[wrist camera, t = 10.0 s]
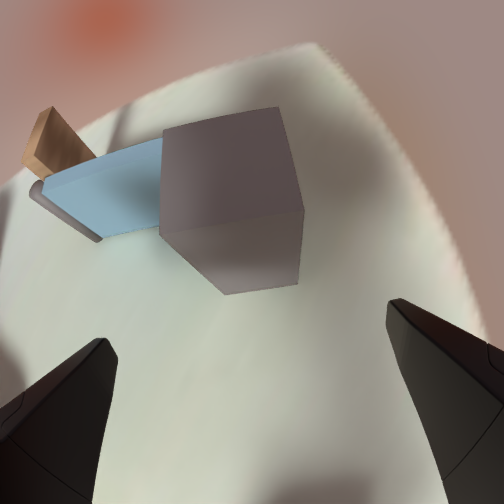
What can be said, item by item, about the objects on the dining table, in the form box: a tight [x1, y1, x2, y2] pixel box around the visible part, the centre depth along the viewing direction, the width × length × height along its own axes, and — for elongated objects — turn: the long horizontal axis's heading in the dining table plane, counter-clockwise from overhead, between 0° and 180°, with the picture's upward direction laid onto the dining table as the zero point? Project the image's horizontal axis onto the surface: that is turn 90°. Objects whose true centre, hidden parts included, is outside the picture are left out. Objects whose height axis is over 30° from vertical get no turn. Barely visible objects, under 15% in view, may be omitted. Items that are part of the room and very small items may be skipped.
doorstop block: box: [159, 107, 304, 295], centre depth 16 cm, size 5×5×11 cm
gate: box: [29, 137, 163, 242], centre depth 19 cm, size 15×1×8 cm, turn 97°
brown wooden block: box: [21, 106, 97, 181], centre depth 20 cm, size 5×1×10 cm, turn 7°
